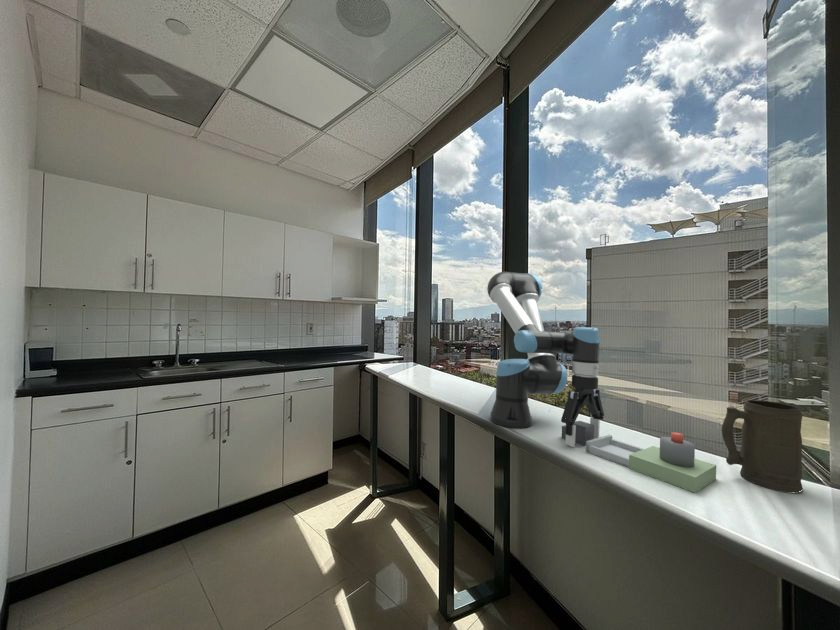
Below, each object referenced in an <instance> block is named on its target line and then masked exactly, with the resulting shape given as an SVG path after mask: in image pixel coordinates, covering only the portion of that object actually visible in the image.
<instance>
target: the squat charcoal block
mask: <svg viewBox="0 0 840 630" xmlns="http://www.w3.org/2000/svg"><path fill="white" fill-rule="evenodd" d="M574 425H576V433H575V444H577V445H580V446H584V447H586V441H589V440H592V439H594V425H593V424H590V422H589V423H588V422H585V421H582V420H576V421H575V423H574ZM563 438H564V439H563ZM561 439H563V440H566V424H565V425H561Z"/></svg>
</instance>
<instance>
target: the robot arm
mask: <svg viewBox="0 0 840 630" xmlns="http://www.w3.org/2000/svg"><path fill="white" fill-rule="evenodd" d="M486 289H487V295H488V297H489V299H490V301H492V302H493V303H496V305H497V307H498V309H499V310H500V312H501V313H502V315H503V316H504V318H505V319H506V321H507V323H508V324H509V326H510V328H511V329H512V331H513V332H514V336H513V343H514V347H515V350H516V351H518V352H520V353H526V354H527V358H509V359H508V358H507V359H503V360H500V361H499V362H498V363H497V367H496V372H495V373H496V380H495V381H496V382H495V383H496V385H495V386H496V387H495V401H494V403H493V406H492V410H491V411H490V416H489V417H490V418H489V419H490V420H489V421H491V422H492V423H494V424H496V425H498V426H502V427H506V428H510V429H511V428H513V429H526V428H530V427H532V425H533V418H532V415H531V411H530V407H529V403H528V402H529V395H554V394H559V393H562V392H563V391H564V390H565V388H566V386H567V383H568V371H567V369H566V367H565V365H563V363H561V362H558V361H557V358H556V357H557V356H556V355H557V354H559V355H560V354H561V355H564V354H565V355H572V364H571V365H572V366H571V373H572V374H573V375H572V376H571V386H572V387H573V388H574V389H575V390H574V391H571V390H570V391H568V394H567V400H566V403H565V406H564V410H563V412H562V414H561V415H562V416H561V420H560V421H561V422H562V423H563V424H565V425H566V439H565V445H567V446H569V447H571V448H575V447H576V443H575V433H576V425H574V423H575V422H576V421H577V419H578V417H579V414H580V412H581V410H582V409H583V408H584V407H587V409H588V412H589V413H590V415H591V417H590V418H589V419H590V420H589V424H593V425H594V439H596V438H599V437H600V427H601V426H600V423H601V421H603V420H604V417H605V411H604V408H603V404H602V400H601V397H600V395H601V393H600V392H601V391H600V389H598V388H599V378H598V377H597V376H599V369H600V366H599V362H600V361H599V360H600V343H601V340H600V331H599V328H597V327H584V326H583V327H582V326H581V327H580V326H577V327H576V326H575V327H574V328H573V332H567V331H566V332H565V331H548V330H547V331H546V330H545V328H544V324H543V321H542V317H541V314H540V309H539V306H538V302H539V301H540V298H541V296H542V293H543V284H542V281H541V279H540V277H538V276H537V275H536V274H532V273H529V272H526V273H522V272H512V271H501V272H497V273H496V274H494V275H493V276H491V278H490V279H489V281H488V284H487V288H486ZM555 354H556V355H555ZM600 420H601V421H600Z"/></svg>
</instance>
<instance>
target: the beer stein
mask: <svg viewBox="0 0 840 630" xmlns="http://www.w3.org/2000/svg"><path fill="white" fill-rule="evenodd" d="M738 419H742V420H743V424H742V425H741V446H740V454H739V453H738V449H737V447H736V443H735V442H736V441H735V438H734V425H735V422H736V420H738ZM802 420H803V413H802V409H801V407H798V406H796V405H790V404H787V403H781V402H774V401H767V400H759V399H758V400H755V399H751V400H750V399H749V400H745V401H744V405H743V410H741V409H738V408H736V407H733V406H728V407H726V415H725V417H724V420H723V422H722V425H721V434H722V439H723V442H724V443H725V446H726V448H727V451H728V456H727V457H726V458H725V459H726V463H727V465H729V466H733V465H739V466H741V468H740V471H739V474H741V475H740V476H741V477H742V478H743V477H744V478H743V479H744V480H747V481H748V482H749V483H752V484H755V485H758V486H761V487H763V488H766V489H770V490H773V489H774V491H777V490H778V491H779V492H782V491H783V493H788V492H799V491H801V490H802V489H803V483H802V479H803V461H802V459H803V458H802V457H803V440H802V439H803V438H802V433H801V432H802ZM803 490H804V489H803Z"/></svg>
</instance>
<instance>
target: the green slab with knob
mask: <svg viewBox="0 0 840 630" xmlns="http://www.w3.org/2000/svg"><path fill="white" fill-rule="evenodd" d="M695 451H696V445H695V444H694V443H693V442H690V441H688V440H686V439H684V434H683V433H681V432H673V431H672V432H671V435H670V436H661V437H659V447H658V446H654V445H651V446H648V447H647V448H643V447H640V446H636V445H632V444H630V443H626V442H624V441H621V440H618V439H614V438H613V435H611V434H607V435H603V436H599V438H596V439H592V440H589V441H586V446H585V452H587V453H589V454H592V455H595V456H597V457H599V458H603V459H606V460H608V461H610V462H613V463H616V464H619V465H622V466H624V467H627V468H628V469H629V470H630V469H631V470H633V471H635V472H638V473H641V474H643V475H646V476H649V477H652V478H654V479H657V480H660V481H663V482H664V483H667V484H670V485H672V486H676V487H677V488H678V487H679V488H680V489H684V490H686V491H689V492H692V493H697V492H699V491H700V490H702V489H703V488H705V487H706V486H707V485H710V484H711V483H713V482H714V481H716V480H717V464H715V463H714V464H713V463H711V462H707V461H705V460H701V459H698V458H695V453H696V452H695Z"/></svg>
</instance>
